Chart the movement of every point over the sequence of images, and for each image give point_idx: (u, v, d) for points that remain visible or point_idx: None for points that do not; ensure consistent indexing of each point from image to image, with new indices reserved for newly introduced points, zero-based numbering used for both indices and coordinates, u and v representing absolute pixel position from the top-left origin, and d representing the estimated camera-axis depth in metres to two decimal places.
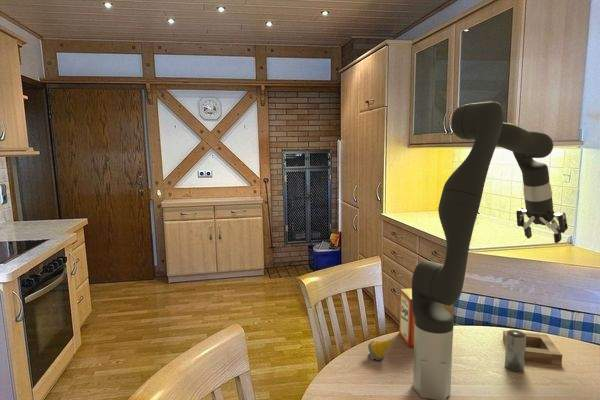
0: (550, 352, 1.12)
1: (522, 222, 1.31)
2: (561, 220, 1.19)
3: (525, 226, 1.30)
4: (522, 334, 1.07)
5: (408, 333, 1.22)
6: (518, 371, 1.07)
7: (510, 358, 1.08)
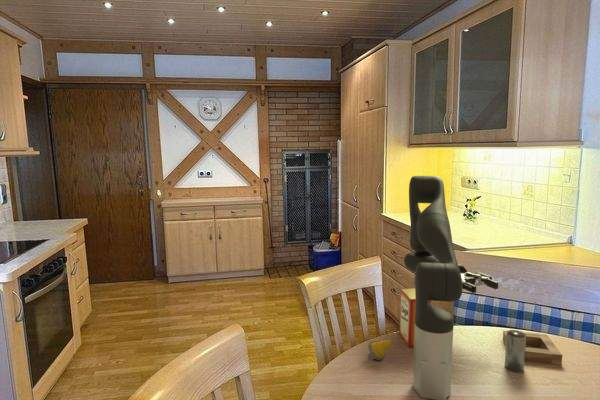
0: (550, 352, 1.12)
1: None
2: (480, 272, 1.28)
3: (463, 281, 1.20)
4: (522, 334, 1.07)
5: (408, 333, 1.22)
6: (518, 371, 1.07)
7: (510, 358, 1.08)
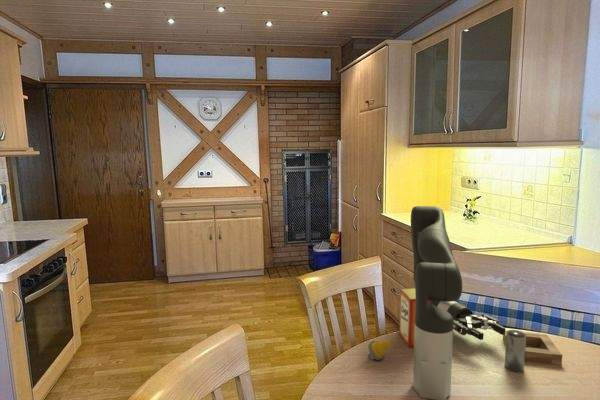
0: (550, 352, 1.12)
1: None
2: (487, 315, 1.26)
3: (469, 326, 1.18)
4: (522, 334, 1.07)
5: (408, 333, 1.22)
6: (518, 371, 1.07)
7: (510, 358, 1.08)
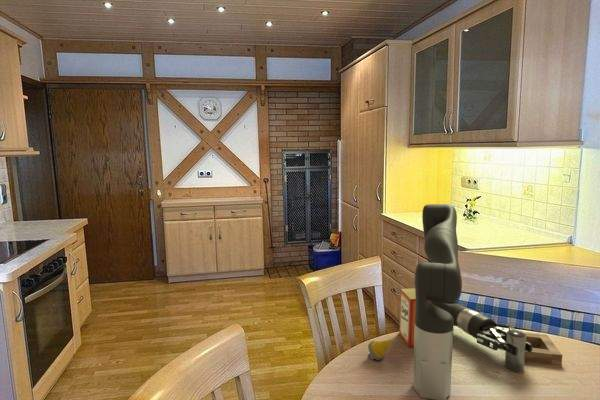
0: (550, 352, 1.12)
1: None
2: (514, 329, 1.16)
3: (501, 340, 1.09)
4: (522, 334, 1.07)
5: (408, 333, 1.22)
6: (518, 371, 1.07)
7: (510, 358, 1.08)
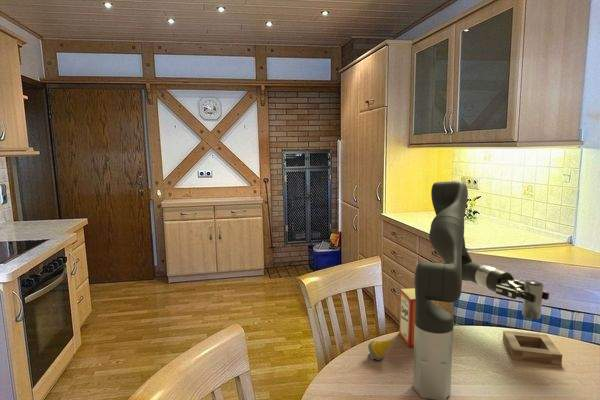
0: (550, 352, 1.12)
1: None
2: None
3: (519, 289, 1.17)
4: (539, 283, 1.15)
5: (408, 333, 1.22)
6: (535, 317, 1.14)
7: (527, 306, 1.15)
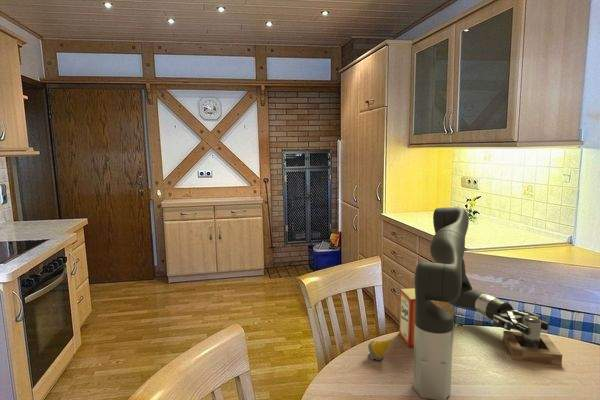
0: (550, 352, 1.12)
1: None
2: None
3: (514, 321, 1.18)
4: (537, 320, 1.16)
5: (408, 333, 1.22)
6: None
7: (526, 342, 1.17)
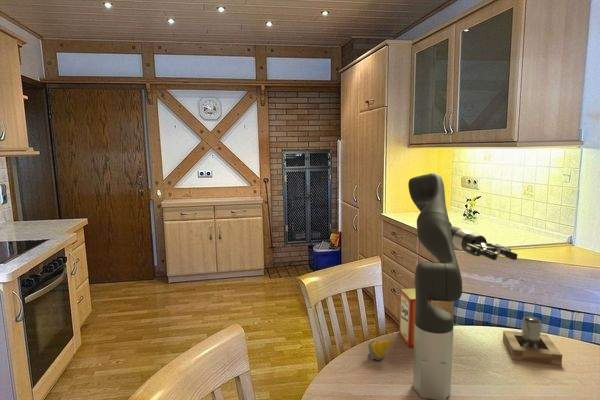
0: (550, 352, 1.12)
1: None
2: (500, 245, 1.34)
3: (484, 248, 1.27)
4: (537, 320, 1.16)
5: (408, 333, 1.22)
6: None
7: (526, 342, 1.17)
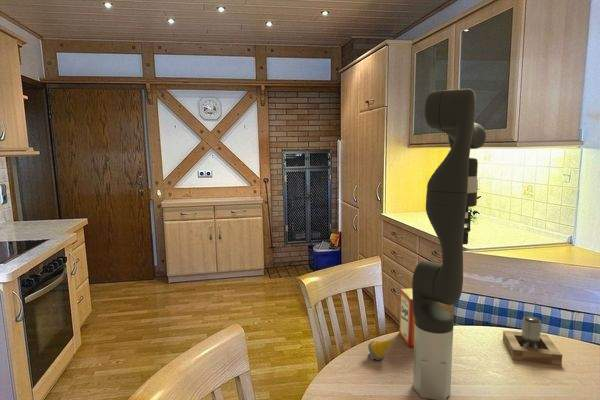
0: (550, 352, 1.12)
1: None
2: None
3: None
4: (537, 320, 1.16)
5: (408, 333, 1.22)
6: None
7: (526, 342, 1.17)
